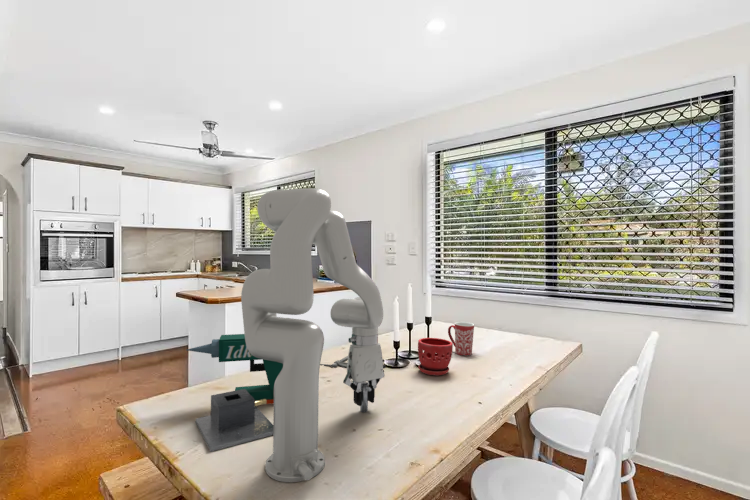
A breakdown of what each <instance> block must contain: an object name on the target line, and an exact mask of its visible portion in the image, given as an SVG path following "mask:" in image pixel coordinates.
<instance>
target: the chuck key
mask: <svg viewBox="0 0 750 500" xmlns="http://www.w3.org/2000/svg"><path fill="white" fill-rule="evenodd" d="M371 390H372V389H371V388H370V387H368V381H366V382H361V389H360V391H361V392H362V405H361V406H359V407H360V409H359V411H360V412H361V413H367V412H368V411H369V401H368V391H369V392H370V391H371Z"/></svg>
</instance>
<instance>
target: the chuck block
mask: <svg viewBox="0 0 750 500" xmlns="http://www.w3.org/2000/svg"><path fill="white" fill-rule="evenodd" d="M266 403H267V401H266V399H262V400H257V401H255V399H254V398H253V397H252V396H251V395H250V394H249V393H248V392H247V391H246V390H245V389H242V390H236V391H235V390H233V391H227V392H221V393H217V394H211V395H210V415H206V416H201V417H198V418H195V424H196V426H197V428H198V430H199V432H200V434H201V436H202V438H203V439H204V442H205V444H206V447H207V448H208V450H209V452H210V453H211V452H216V451H218V450H219V451H220V450H222V449H225V448H226V449H227V448H231V447H234V446H237V445H238V446H239V445H241V444H244V443H250V442H252V441H256V440H261V439H263V438H267V437H271V436H273V423H272V422H271V421H270V420H269V418H268V417H267V416H266V415H265V414H264V413H263V412H262V411H261V410H260V409H259V408H258V407H259V406H263V405H267V404H266Z"/></svg>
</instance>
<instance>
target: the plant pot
mask: <svg viewBox="0 0 750 500" xmlns="http://www.w3.org/2000/svg"><path fill="white" fill-rule="evenodd" d="M453 347H454V345H453V343H452V341H451V340H447V339H445V338H437V337H424V338H420V339H418V341H417V352H418V360H419V362H420V364H419V365H418V369H419V370H420V372H421V373H423V374H425V375H429V376H443V375H446V374H447V373H449V371H450V367H449V365H450V363H451V360H452V357H453Z"/></svg>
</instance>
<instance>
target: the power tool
mask: <svg viewBox="0 0 750 500" xmlns="http://www.w3.org/2000/svg"><path fill="white" fill-rule="evenodd" d="M186 351H189V352H195V353H202V354H209V355H210V356H211V358H213V359H215V358H218V363H226V362H227V363H228V362H245V361H246V362H247V361H249V372H250V373H254V372H265V375H266V380H267V383H268V384H259V385H247V386H235V388H234V391H236V390H242V389H245V390H246V391H247V392H248V393H249V394H250V395H251V396H252V397H253V398H254V399H255V401H257V400H262V399H266V401H267V403H266V404H265V405H269V404H270V405H272V404H273V405H274V383H275V380H276V378H277V376H278V375H279V373H280V372H281V370H282V368H283V363H279V362H275V361H270V360H264V359H260V358H257V357H254V356H253V355H252V354H251V353H250V352H249V351H248V349H247V346H246V342H245V334H244V333H237V334H236V333H235V334H234V333H233V334H221V335H220V337H219V338H218V339H217V338H216V339H215V338H213V339H211V343H208V344H203V345H199V346H195V347H191V348H188V349H186ZM255 361H262V362H261V363H260V362H259V363H255Z"/></svg>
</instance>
